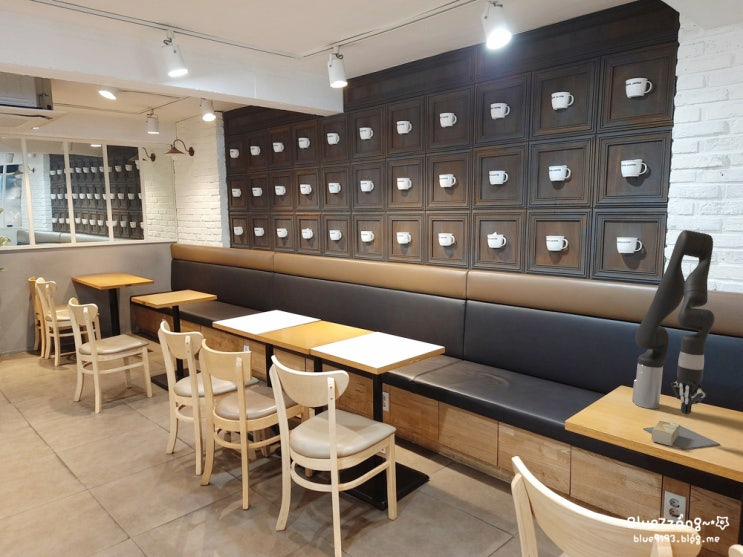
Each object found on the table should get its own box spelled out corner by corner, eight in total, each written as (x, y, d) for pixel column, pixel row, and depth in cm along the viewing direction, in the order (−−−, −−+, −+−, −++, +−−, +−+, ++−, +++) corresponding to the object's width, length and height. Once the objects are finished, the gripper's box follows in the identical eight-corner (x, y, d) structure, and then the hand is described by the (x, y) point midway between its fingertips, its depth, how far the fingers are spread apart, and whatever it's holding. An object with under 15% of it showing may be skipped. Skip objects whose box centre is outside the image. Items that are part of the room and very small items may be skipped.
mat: (643, 429, 187) (643, 428, 187) (677, 425, 191) (677, 424, 191) (683, 449, 170) (683, 448, 170) (720, 445, 175) (720, 443, 175)
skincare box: (680, 423, 180) (673, 434, 171) (678, 435, 181) (672, 446, 172) (659, 418, 185) (652, 428, 175) (658, 430, 185) (651, 440, 176)
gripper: (716, 370, 172) (711, 419, 174) (682, 359, 184) (677, 406, 186) (699, 371, 170) (694, 421, 172) (666, 360, 182) (661, 407, 184)
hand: (685, 413), depth 179 cm, fingers closed
